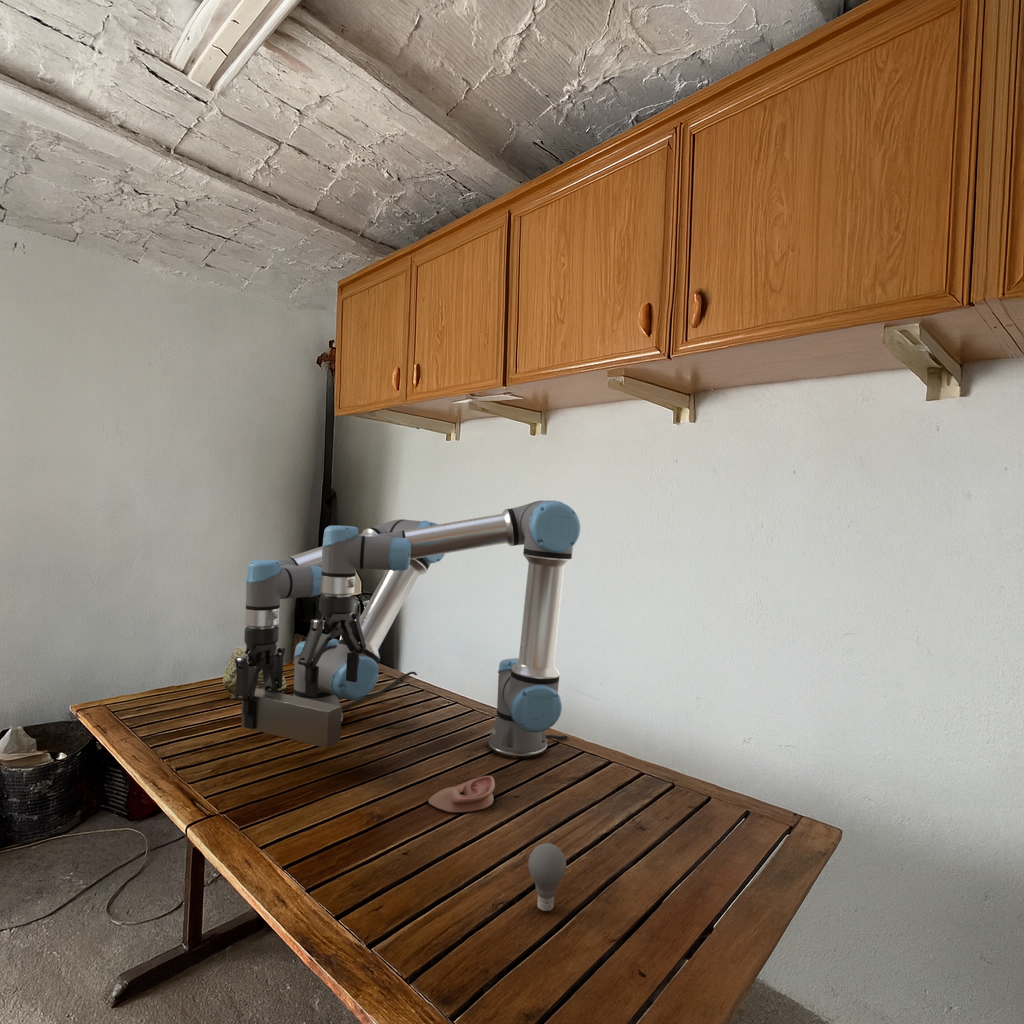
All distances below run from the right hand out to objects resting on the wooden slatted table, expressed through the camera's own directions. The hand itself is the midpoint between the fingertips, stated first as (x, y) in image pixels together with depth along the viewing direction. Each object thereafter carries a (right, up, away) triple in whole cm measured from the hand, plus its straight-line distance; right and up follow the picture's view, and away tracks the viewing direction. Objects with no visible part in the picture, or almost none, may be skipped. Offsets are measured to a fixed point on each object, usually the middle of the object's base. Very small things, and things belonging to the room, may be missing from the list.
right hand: (332, 688), depth 143 cm
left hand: (-19, -10, +7) cm, 23 cm away
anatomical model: (+30, -22, -8) cm, 38 cm away
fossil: (-40, -18, +55) cm, 71 cm away
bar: (-11, -11, +3) cm, 16 cm away
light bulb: (+46, -23, -43) cm, 67 cm away
